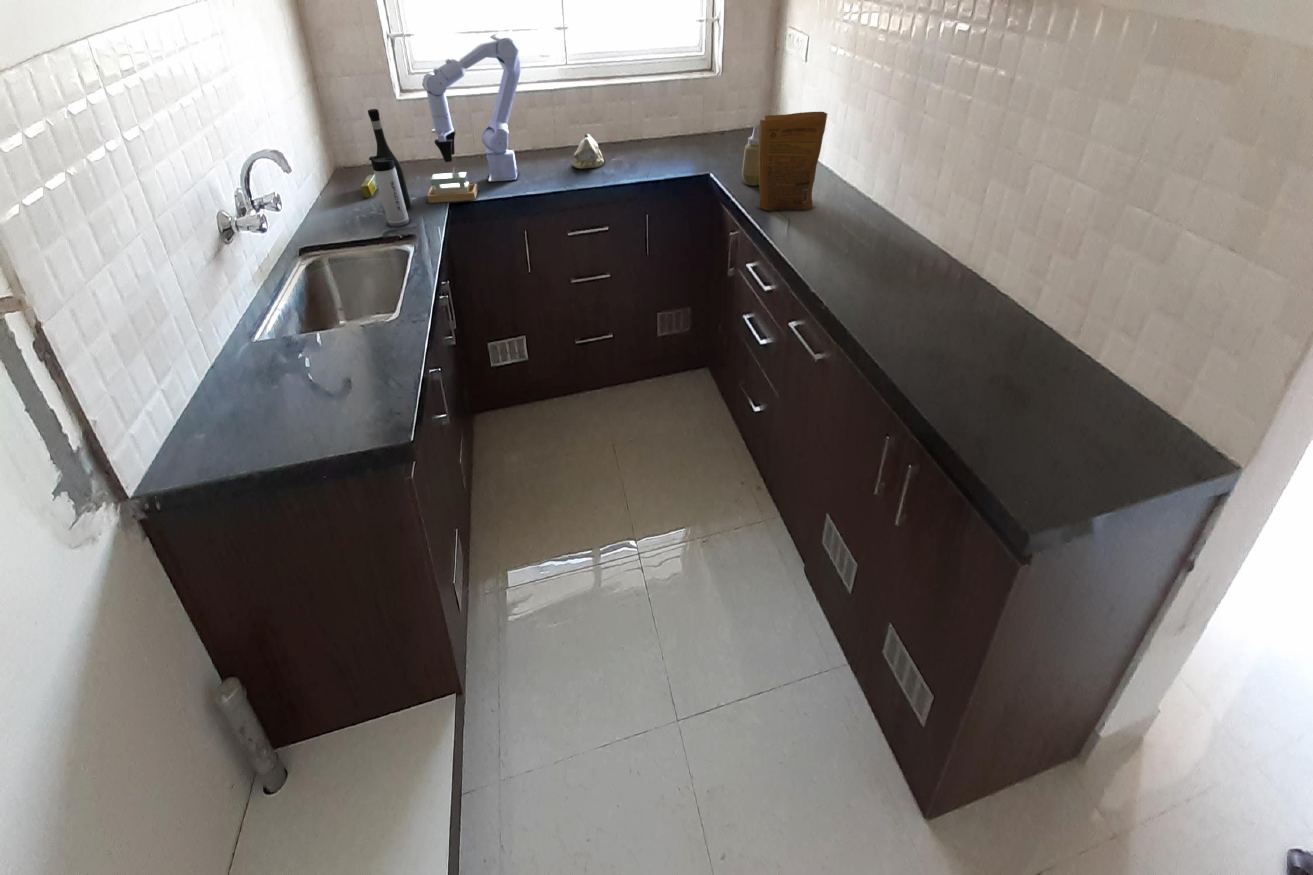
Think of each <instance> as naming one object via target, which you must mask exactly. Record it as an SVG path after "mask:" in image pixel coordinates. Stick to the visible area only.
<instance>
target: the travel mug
mask: <svg viewBox="0 0 1313 875" xmlns="http://www.w3.org/2000/svg"><path fill="white" fill-rule="evenodd" d="M368 161H370V163H371V166H372V170H373V174H375V178H376V181H377V185H378V188H377V189H378V192H379V195H380V199H381V202H382V206H383V209H384V212H385V216H386V219H387V224H388V225H389V226H390V227H394V228H395V227H396V228H397V227H403V226H405V225H408V223H409V222H410V219H409V214H408V210H406V207H405V203H404V199H403V195H402V191H401V187H400V184H399V180H398V176H397V172H396V169H395V165H394V162H393V159H392V157H390V156H383V155H381V156H376V155H374V156H373V155H371V156H370V157H368Z"/></svg>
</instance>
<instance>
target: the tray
mask: <svg viewBox="0 0 1313 875" xmlns="http://www.w3.org/2000/svg"><path fill="white" fill-rule="evenodd" d="M469 186H470V188H469V191H468V193H453V194H440V195H434V191H433V188H434V186H430V188H429V190H428V193H427V195H426V198H427V201H428V204H433V203H434V204H435V203H446V202H447V203H448V202H460V201H475V200H476V198H477V196H478V191H479V188H478V183H469Z"/></svg>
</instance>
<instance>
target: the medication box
mask: <svg viewBox="0 0 1313 875" xmlns="http://www.w3.org/2000/svg"><path fill="white" fill-rule="evenodd" d="M377 189H378V185H377V181H376V178H375V174H374V173H373V174H368V175H367V176H366V177H365V179H364V181H363V182H362V184H361V185H360V190H361V192H362V195H363V196H364V198H365V199H366V198H371V197H373V196H374V195H375V193H376V191H377Z"/></svg>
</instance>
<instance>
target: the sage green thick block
mask: <svg viewBox="0 0 1313 875" xmlns="http://www.w3.org/2000/svg"><path fill="white" fill-rule="evenodd" d="M468 178H469V177H468V172H467V171H460V172H447V173H445V172H444V173H433V174H432V176H431V178H430V183H431V185H432V186H435V189H439V188H440V187H441V185H442V184H454V183H459V185H460V187H465V185H466V182H468Z"/></svg>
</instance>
